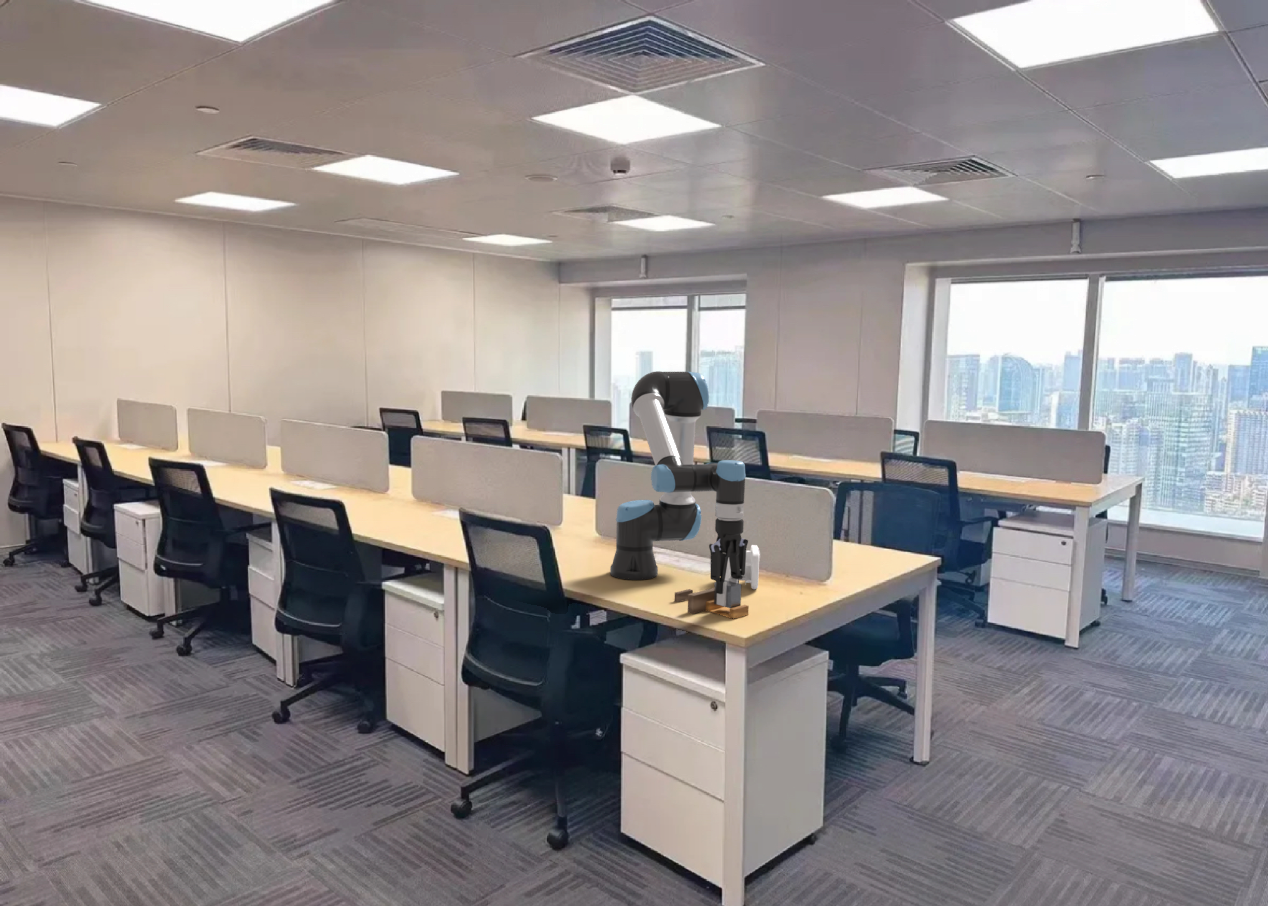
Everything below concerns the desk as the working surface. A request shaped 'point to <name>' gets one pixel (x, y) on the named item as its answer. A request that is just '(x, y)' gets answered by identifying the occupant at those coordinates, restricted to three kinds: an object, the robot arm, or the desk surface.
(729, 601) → the block
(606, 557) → the desk surface
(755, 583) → the cable organizer
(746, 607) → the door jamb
